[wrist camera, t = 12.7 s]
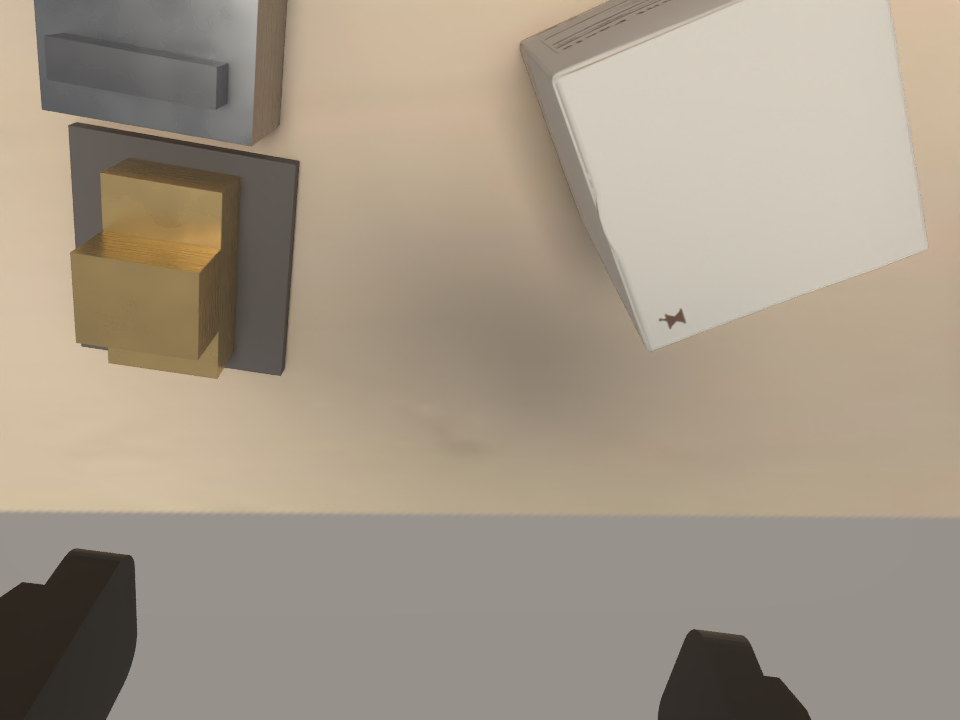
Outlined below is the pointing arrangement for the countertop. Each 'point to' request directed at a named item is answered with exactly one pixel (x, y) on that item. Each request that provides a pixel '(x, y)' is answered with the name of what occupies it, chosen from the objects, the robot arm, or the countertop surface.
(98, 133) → the rubber mat
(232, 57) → the grey block holder tray
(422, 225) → the countertop surface
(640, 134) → the supplement box
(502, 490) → the countertop surface
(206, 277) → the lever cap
